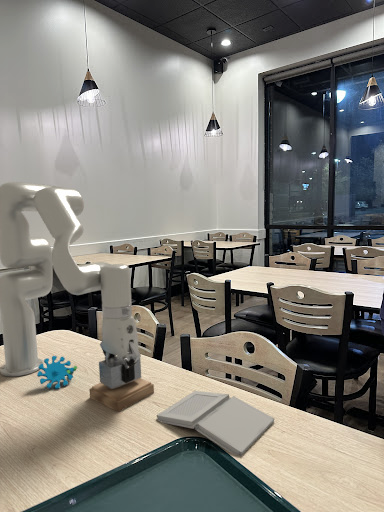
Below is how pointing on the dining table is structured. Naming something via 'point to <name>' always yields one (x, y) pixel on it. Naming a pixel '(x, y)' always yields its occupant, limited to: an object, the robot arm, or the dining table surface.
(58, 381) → the gear
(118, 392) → the stand
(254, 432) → the grey folded flat piece
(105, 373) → the grey rectangular block
